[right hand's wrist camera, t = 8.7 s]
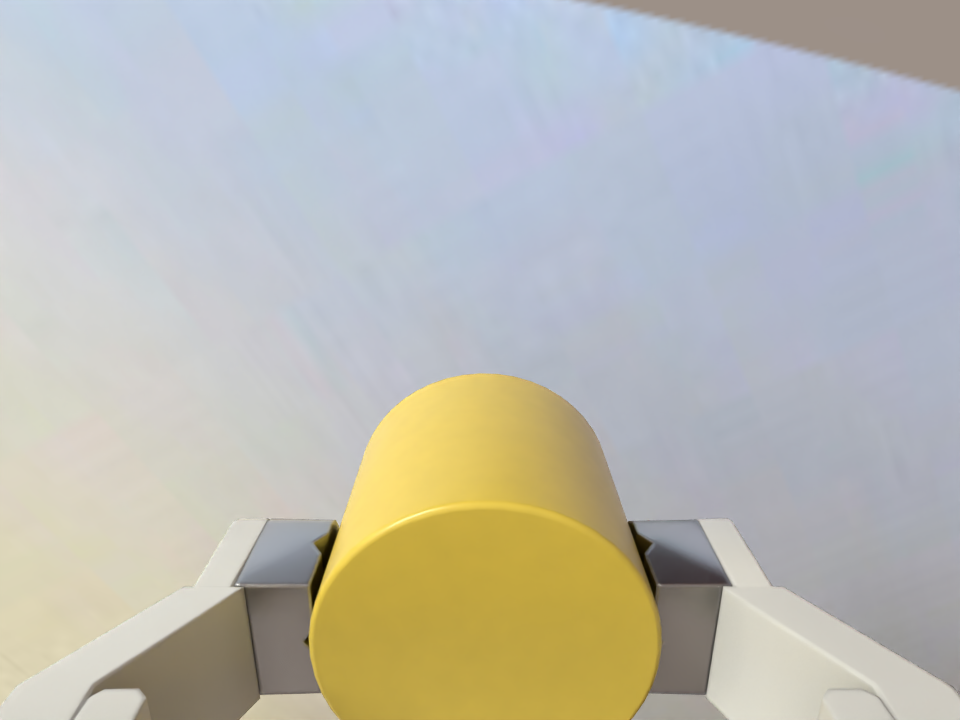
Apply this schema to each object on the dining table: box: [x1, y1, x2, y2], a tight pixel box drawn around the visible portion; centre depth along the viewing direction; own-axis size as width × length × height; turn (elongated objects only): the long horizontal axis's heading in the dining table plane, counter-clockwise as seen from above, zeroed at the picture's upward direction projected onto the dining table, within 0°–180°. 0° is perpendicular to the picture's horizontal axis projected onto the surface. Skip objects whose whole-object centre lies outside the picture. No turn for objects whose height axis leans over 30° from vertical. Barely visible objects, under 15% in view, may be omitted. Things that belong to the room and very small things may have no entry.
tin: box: [309, 374, 662, 720], centre depth 10 cm, size 4×4×4 cm
